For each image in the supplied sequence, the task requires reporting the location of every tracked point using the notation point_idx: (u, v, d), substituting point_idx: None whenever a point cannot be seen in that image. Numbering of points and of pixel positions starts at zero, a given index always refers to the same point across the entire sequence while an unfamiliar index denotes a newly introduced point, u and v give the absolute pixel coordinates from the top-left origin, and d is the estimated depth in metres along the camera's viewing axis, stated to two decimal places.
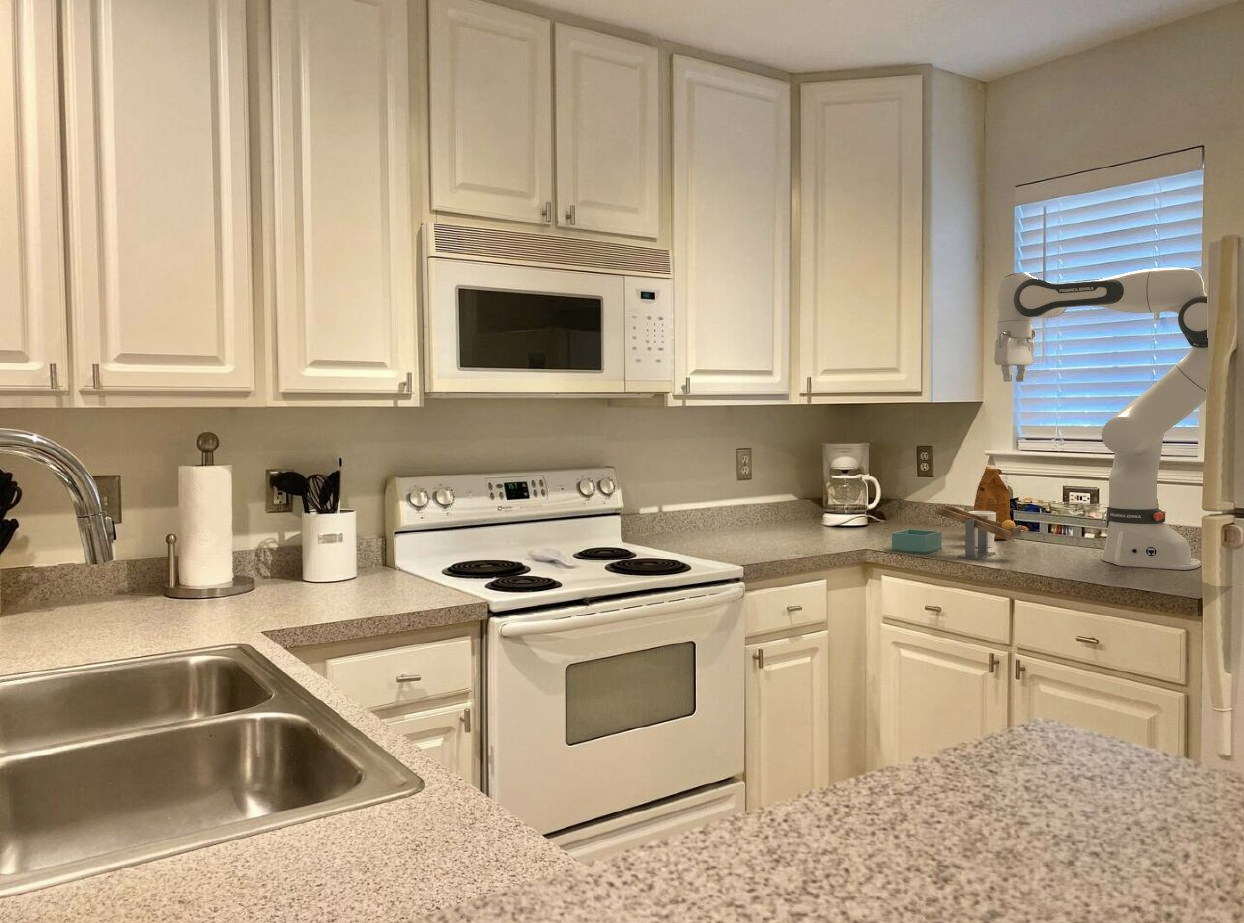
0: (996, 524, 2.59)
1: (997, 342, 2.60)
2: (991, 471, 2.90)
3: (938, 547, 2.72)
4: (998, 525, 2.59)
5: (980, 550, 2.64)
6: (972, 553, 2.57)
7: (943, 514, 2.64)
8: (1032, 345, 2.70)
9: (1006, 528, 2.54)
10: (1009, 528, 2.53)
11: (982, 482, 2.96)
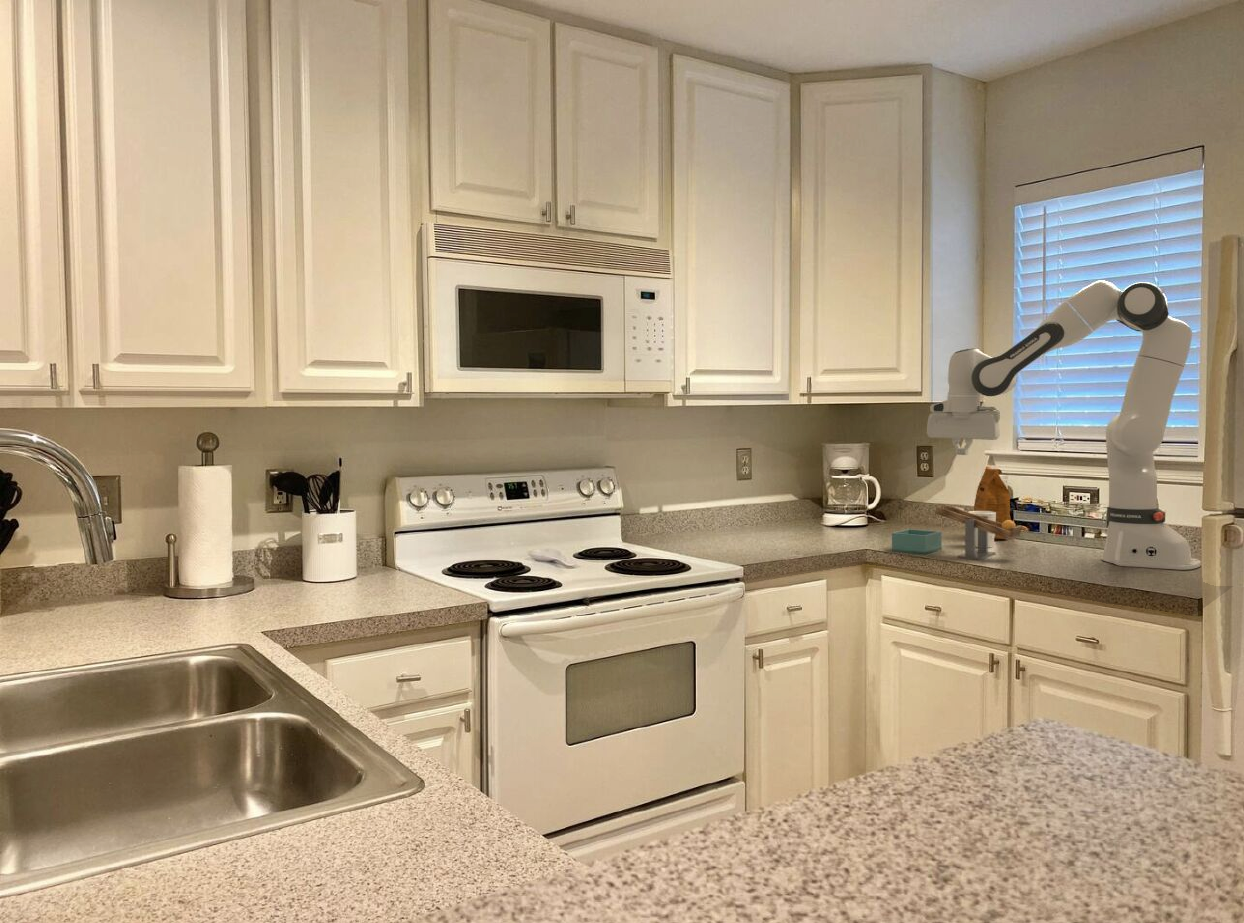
0: (996, 524, 2.59)
1: (994, 418, 2.63)
2: (991, 471, 2.90)
3: (938, 547, 2.72)
4: (998, 525, 2.59)
5: (980, 550, 2.64)
6: (972, 553, 2.57)
7: (943, 514, 2.64)
8: None
9: (1006, 528, 2.54)
10: (1009, 528, 2.53)
11: (982, 482, 2.96)
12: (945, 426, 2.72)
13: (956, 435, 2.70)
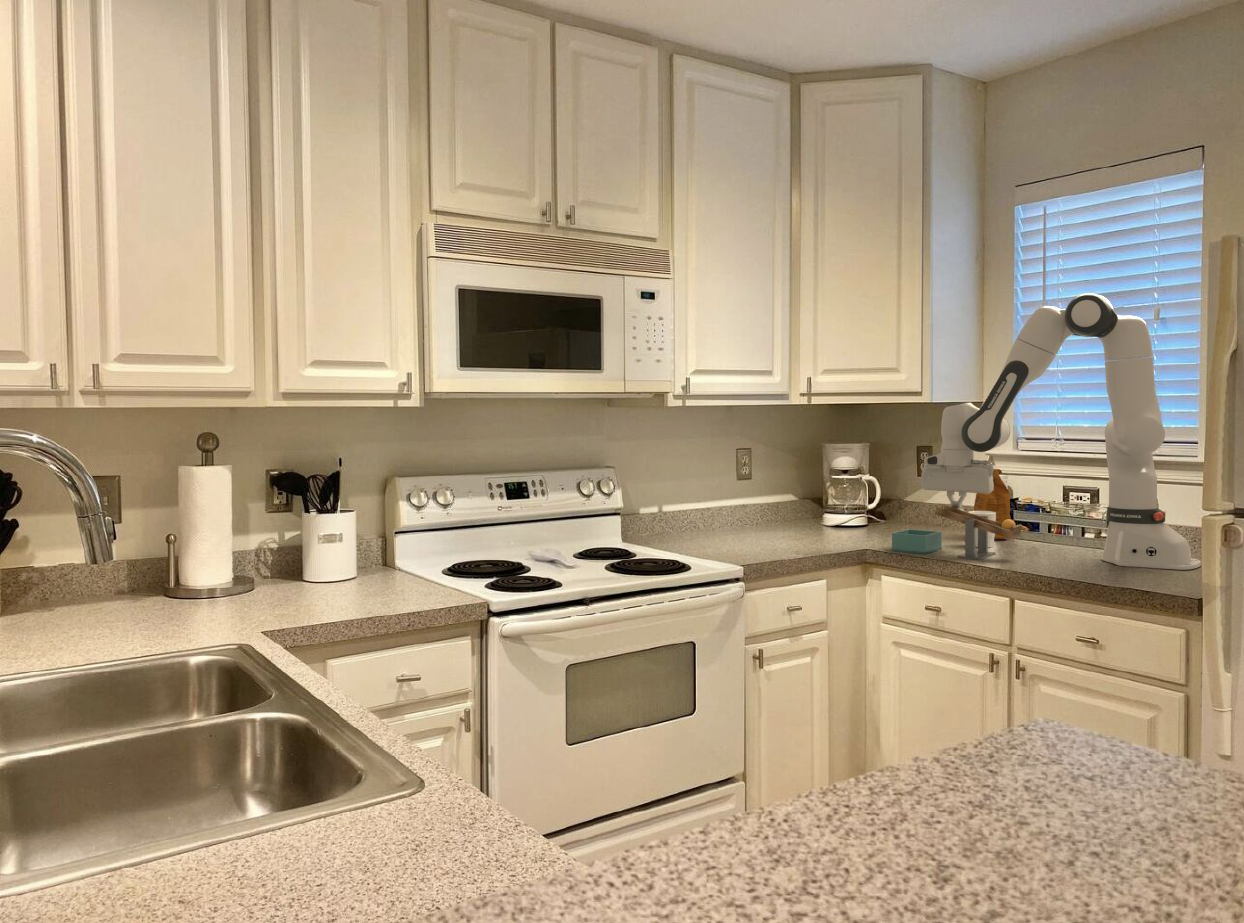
0: (996, 524, 2.59)
1: (987, 471, 2.63)
2: None
3: (938, 547, 2.72)
4: (998, 525, 2.59)
5: (980, 550, 2.64)
6: (972, 553, 2.57)
7: (943, 514, 2.64)
8: None
9: (1006, 527, 2.54)
10: (1009, 528, 2.53)
11: None
12: (939, 479, 2.72)
13: (950, 488, 2.70)
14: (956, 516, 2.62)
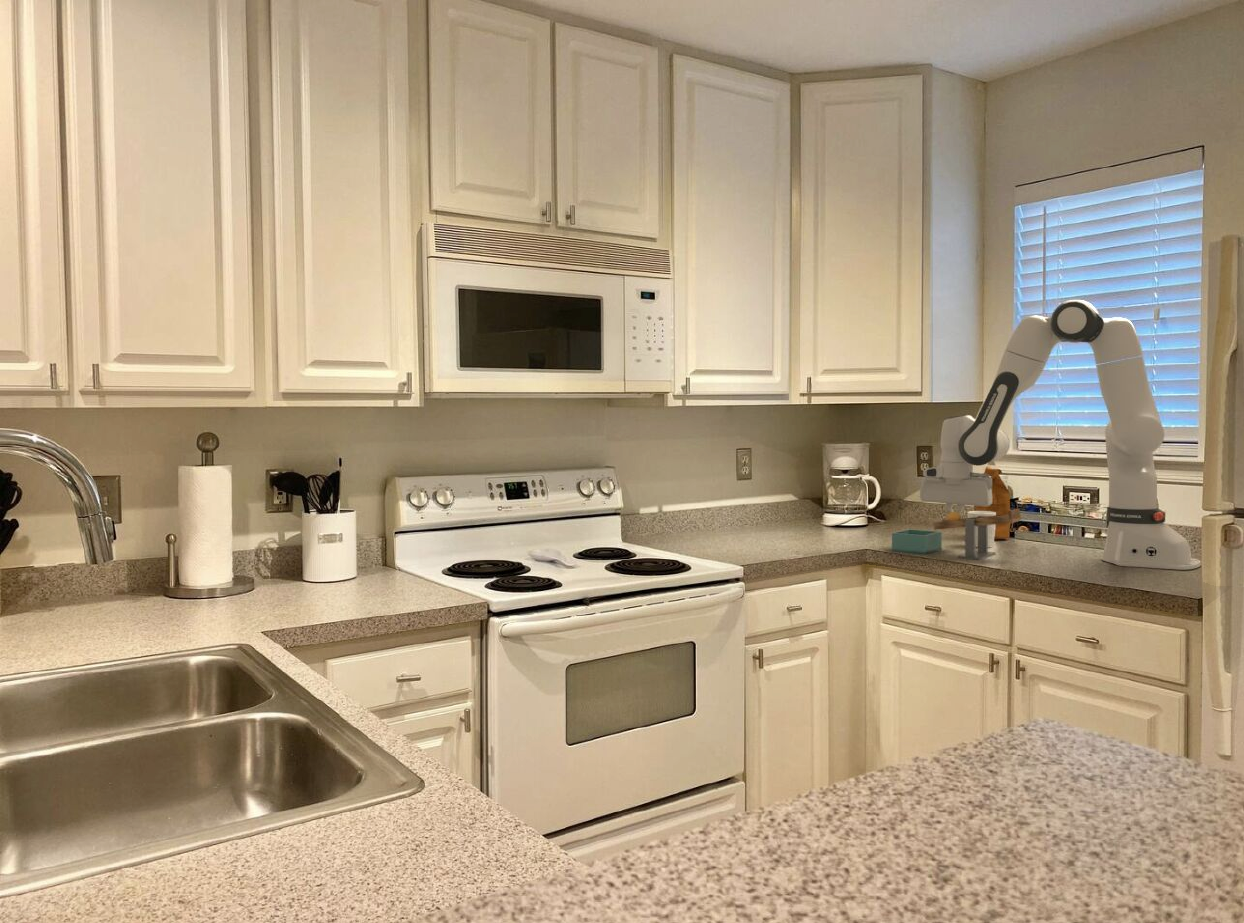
0: None
1: (986, 484, 2.64)
2: (991, 471, 2.90)
3: (938, 547, 2.72)
4: None
5: (980, 550, 2.64)
6: (972, 553, 2.57)
7: (942, 526, 2.64)
8: None
9: (952, 517, 2.64)
10: (950, 515, 2.64)
11: None
12: (938, 491, 2.73)
13: (949, 501, 2.71)
14: (955, 523, 2.62)
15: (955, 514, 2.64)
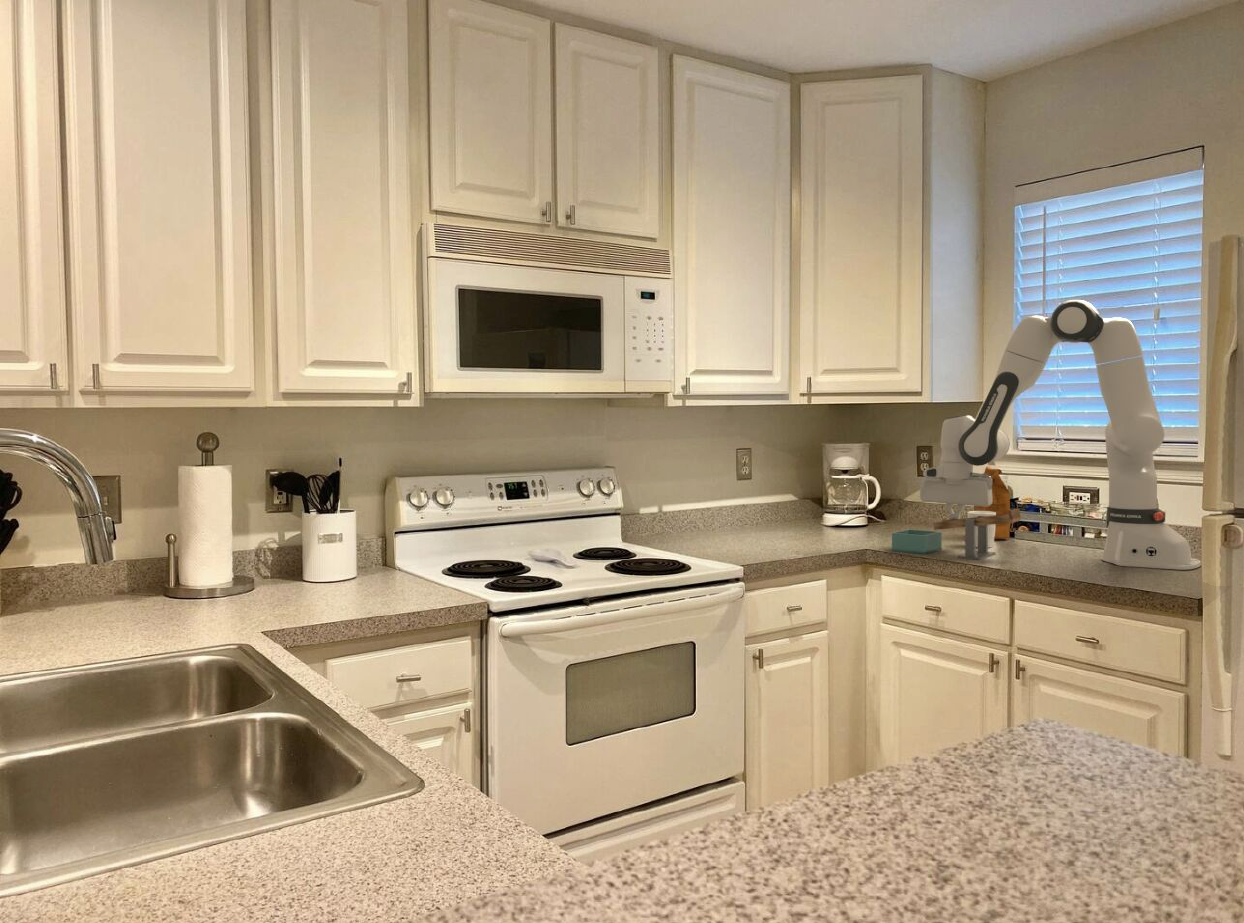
0: None
1: (986, 485, 2.64)
2: (991, 471, 2.90)
3: (938, 547, 2.72)
4: None
5: (980, 550, 2.64)
6: (972, 553, 2.57)
7: (943, 526, 2.64)
8: None
9: None
10: None
11: None
12: (938, 491, 2.73)
13: (949, 501, 2.71)
14: (955, 523, 2.62)
15: None
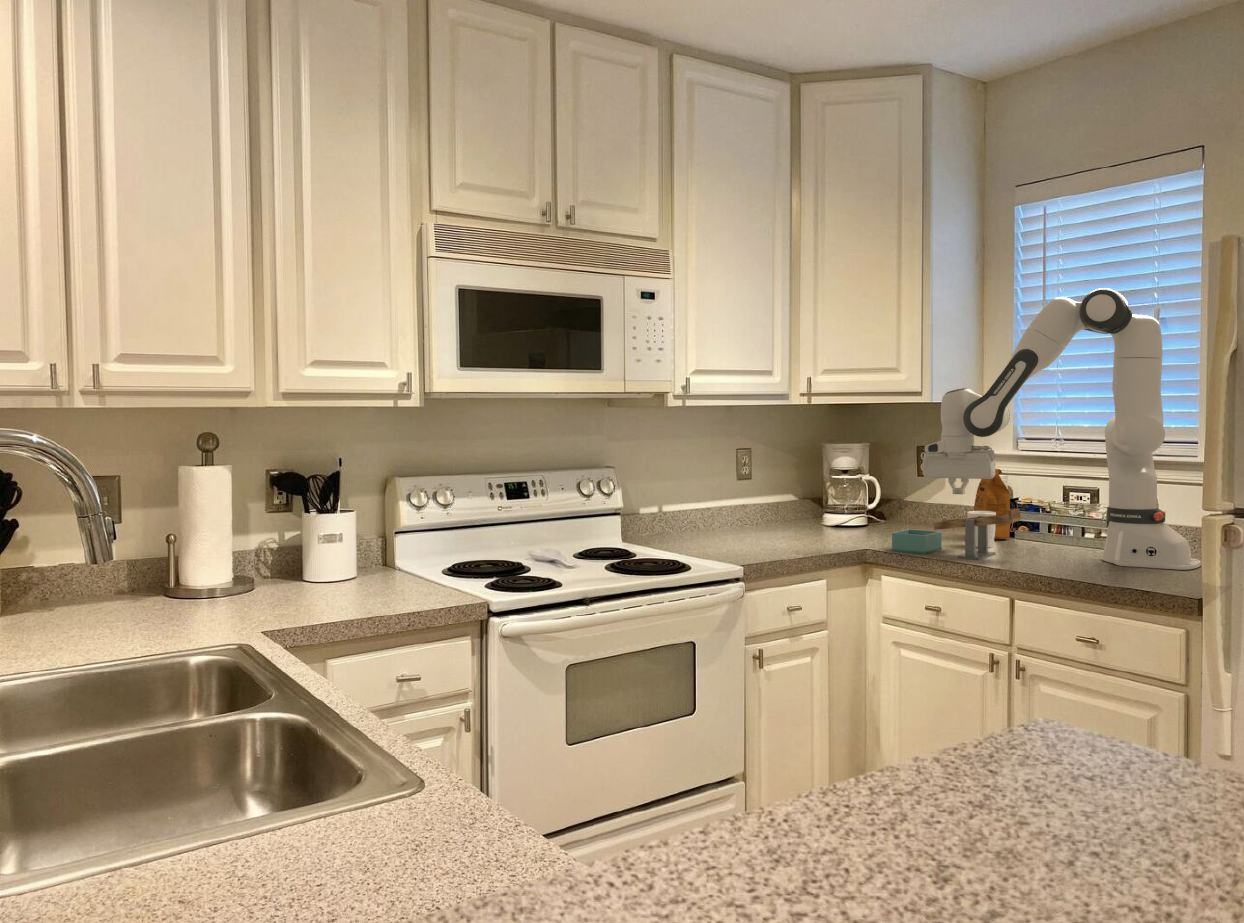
0: None
1: (989, 457, 2.63)
2: None
3: (938, 547, 2.72)
4: None
5: (980, 550, 2.64)
6: (972, 553, 2.57)
7: (943, 526, 2.64)
8: None
9: None
10: None
11: (982, 482, 2.96)
12: (941, 466, 2.72)
13: (952, 475, 2.70)
14: (955, 523, 2.62)
15: None
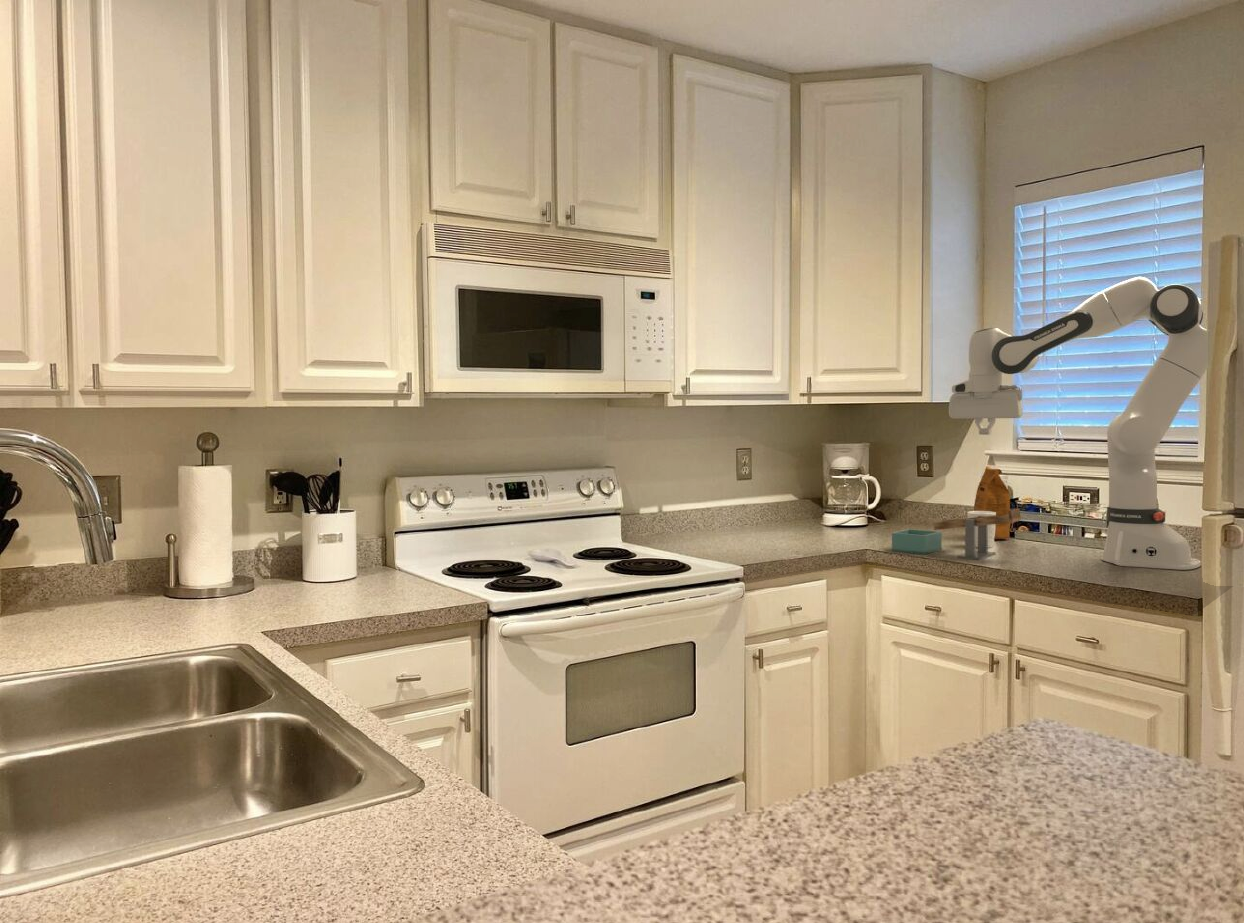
0: None
1: (1016, 396, 2.63)
2: (991, 471, 2.90)
3: (938, 547, 2.72)
4: None
5: (980, 550, 2.64)
6: (972, 553, 2.57)
7: (943, 526, 2.64)
8: None
9: None
10: None
11: (982, 482, 2.96)
12: (968, 406, 2.72)
13: (979, 415, 2.70)
14: (955, 523, 2.62)
15: None
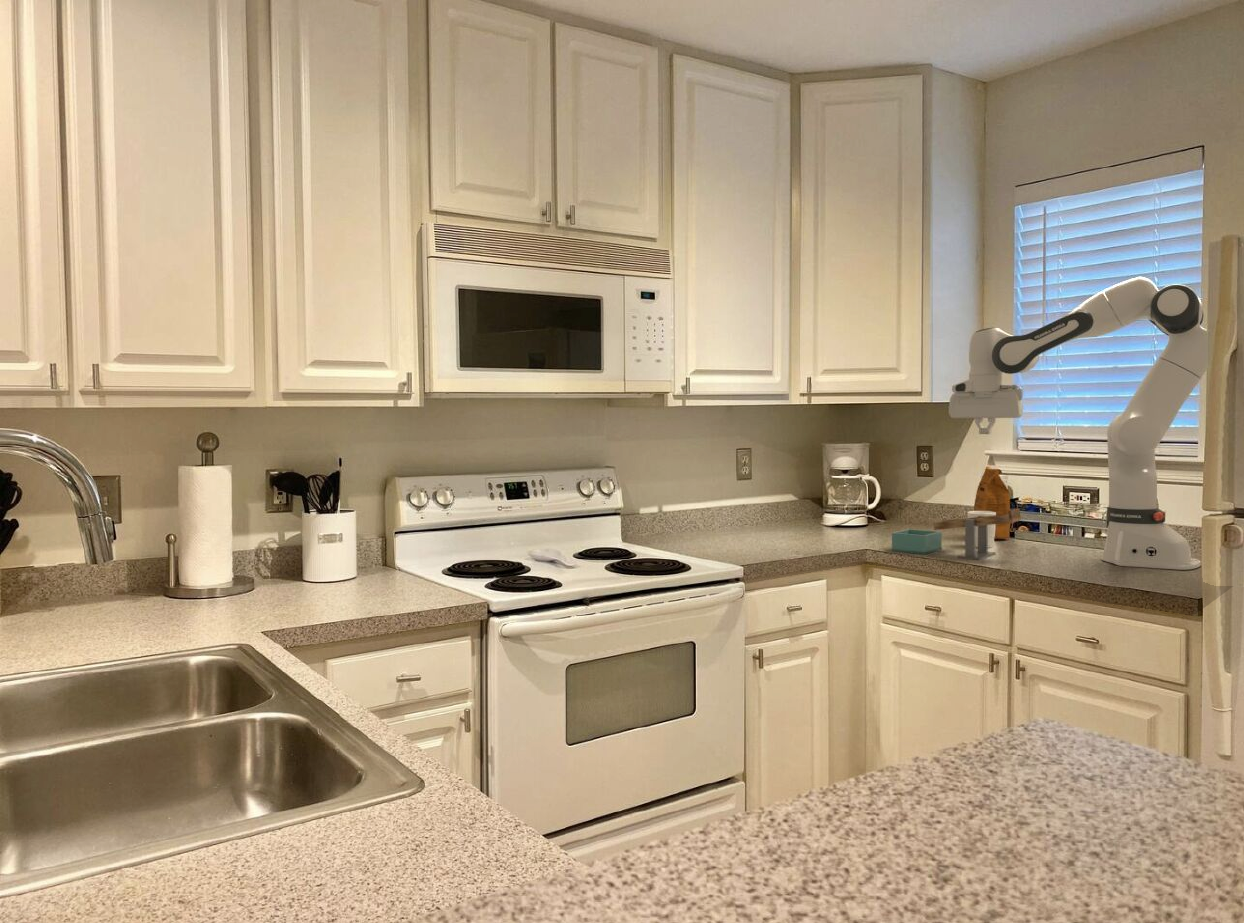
0: None
1: (1017, 395, 2.63)
2: (991, 471, 2.90)
3: (938, 547, 2.72)
4: None
5: (980, 550, 2.64)
6: (972, 553, 2.57)
7: (943, 526, 2.64)
8: None
9: None
10: None
11: (982, 482, 2.96)
12: (968, 406, 2.72)
13: (979, 415, 2.70)
14: (955, 523, 2.62)
15: None
